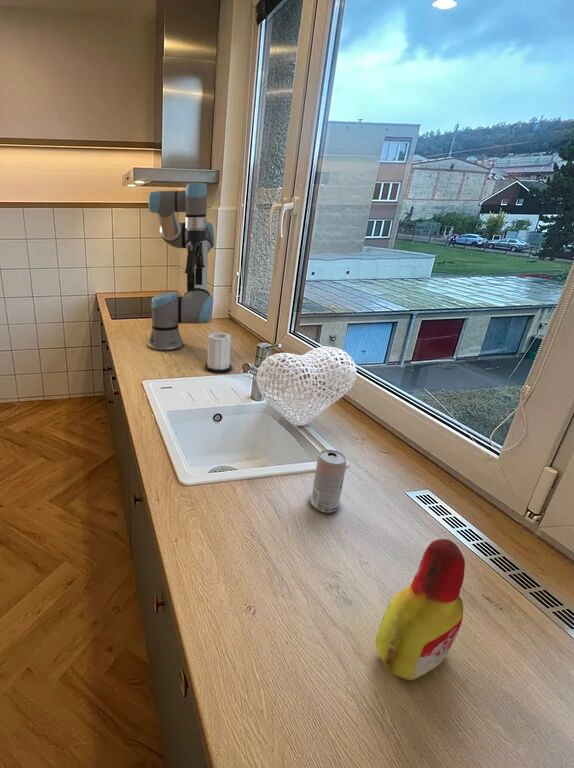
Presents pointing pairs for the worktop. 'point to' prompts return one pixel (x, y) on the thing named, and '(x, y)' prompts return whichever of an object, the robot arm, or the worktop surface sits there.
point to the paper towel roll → (219, 350)
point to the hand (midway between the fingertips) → (194, 287)
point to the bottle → (424, 614)
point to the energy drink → (328, 480)
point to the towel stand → (218, 370)
